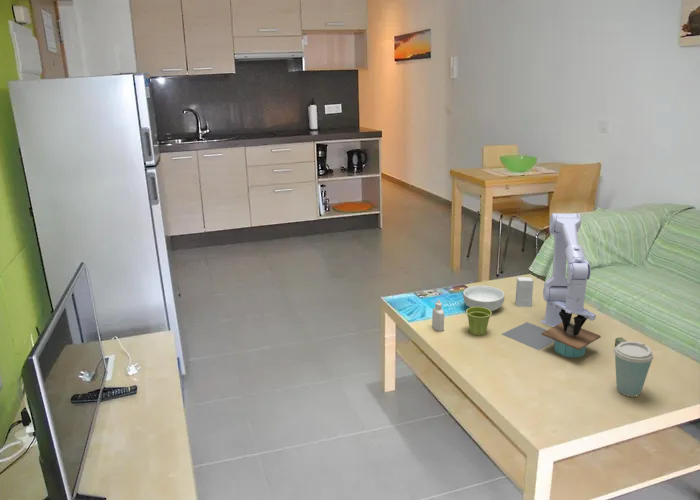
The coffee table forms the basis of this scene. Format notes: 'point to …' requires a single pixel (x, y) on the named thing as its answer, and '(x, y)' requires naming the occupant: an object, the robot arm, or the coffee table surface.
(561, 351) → the teal bowl
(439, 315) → the eye dropper bottle
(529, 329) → the rubber mat
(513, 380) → the coffee table surface
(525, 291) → the skincare box
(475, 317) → the plant pot
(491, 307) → the cereal bowl
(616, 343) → the medication box
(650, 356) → the disposable coffee cup
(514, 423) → the coffee table surface
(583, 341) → the walnut lid
